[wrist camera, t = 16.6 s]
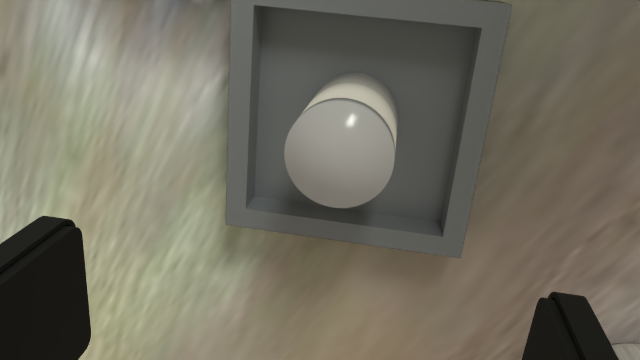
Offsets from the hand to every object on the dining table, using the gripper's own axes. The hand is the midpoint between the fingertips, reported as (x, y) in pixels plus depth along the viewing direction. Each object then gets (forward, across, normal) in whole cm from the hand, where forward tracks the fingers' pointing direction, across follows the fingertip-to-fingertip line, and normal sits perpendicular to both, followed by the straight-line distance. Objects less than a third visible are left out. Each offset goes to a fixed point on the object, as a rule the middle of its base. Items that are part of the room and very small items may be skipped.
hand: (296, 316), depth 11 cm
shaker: (+22, +1, +2) cm, 22 cm away
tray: (+23, +1, +2) cm, 23 cm away
